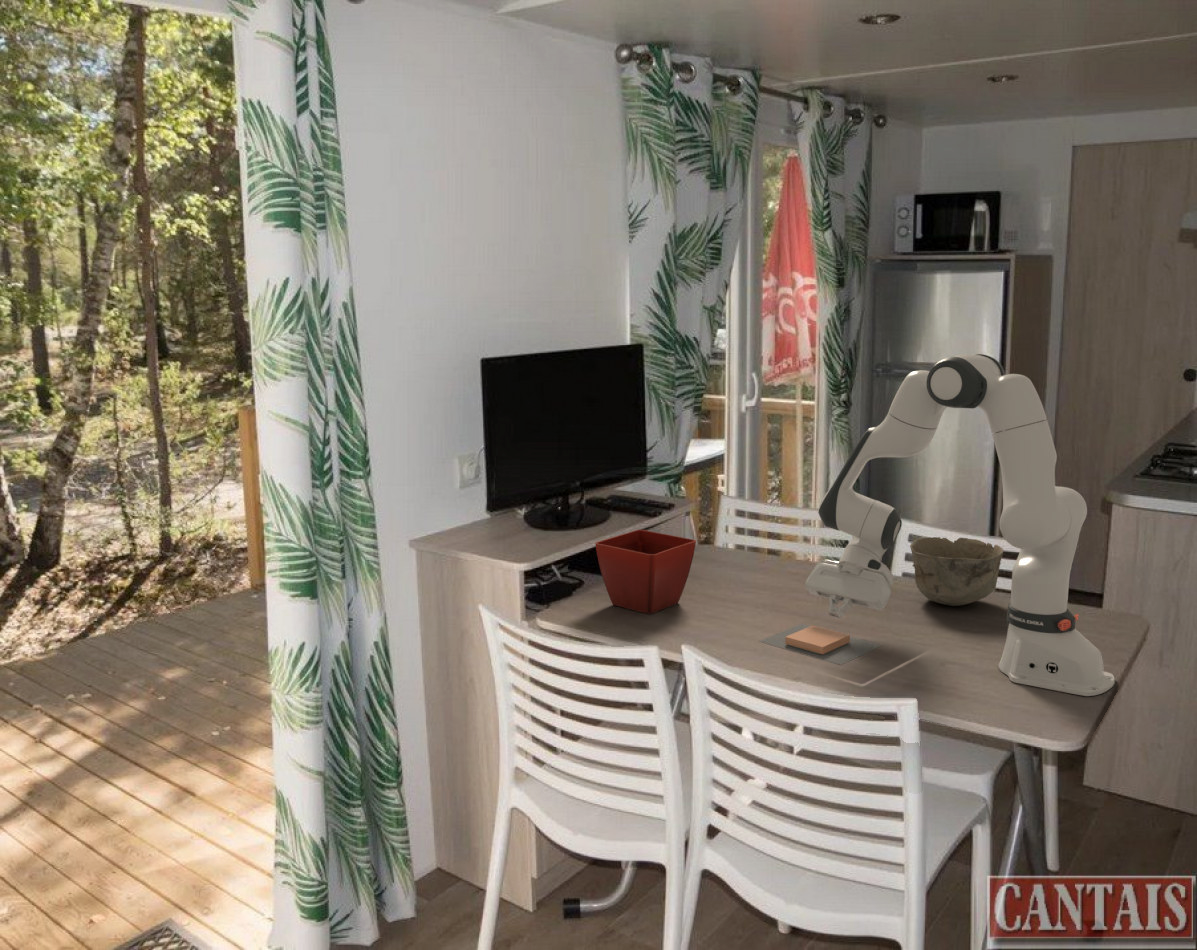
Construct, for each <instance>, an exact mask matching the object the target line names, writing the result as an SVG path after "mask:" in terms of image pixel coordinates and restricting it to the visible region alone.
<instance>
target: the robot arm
mask: <svg viewBox="0 0 1197 950" xmlns="http://www.w3.org/2000/svg"><path fill="white" fill-rule="evenodd" d="M977 407H978V408H979V409H981V410H982V411H983V412H984V413H985V415H986V418H987V419H988V420H987V421H988V424H989V427H990V432H991V435H992V439H993V442H994V446H995V451H996V454H997V457H998V458H997V459H998V461H999V465H1000V471H1001V472H1000V473H1001V478H1002V480H1001V481H1002V511H1001V514H1000V518H999V531H1000V533H1001V536H1002V537H1003V538H1004V540H1005V541H1006V542H1007V544H1009V545H1011V546H1012V547H1014V548H1016V549H1020V550H1019V554H1018V556H1017V557H1016V560H1015V563H1014V565H1013V567H1012V571H1011V587H1010V589H1011V590H1010V591H1011V592H1010V602H1009V603H1008V605H1007V614H1006V628H1007V633H1006V639H1005V645H1004V647H1003V652H1002V656H1000V657H1001V658H1000V661H999V663H998V669H999V670H1000V671H1001V672H1002V673H1003V674H1005V675H1006V676H1008V679H1009V681H1011V682H1013V683H1016V684H1020V685H1026V686H1030V687H1037V688H1042V689H1046V690H1051V691H1056V692H1061V693H1062V692H1063V693H1068V694H1073V695H1077V696H1084V697H1091V696H1092V697H1093V696H1097V695H1101V694H1103V693H1106V692H1107V691H1108V690H1110V689H1112V688H1113V686H1115V675H1113V673H1111V672H1108V671H1104V660H1103V656H1102V652H1101V650H1100V649H1098V648H1097V647H1096V646H1095V645H1094V644H1093V643H1091V641H1090V640H1089V639H1087V638H1086V637H1085V636H1084V635H1083V634H1082V633H1081V632H1080V631H1078V630H1077V629H1076V622H1077V621H1078V620H1079V615H1080V614H1079V613H1077V614H1074V615H1073V613H1071V611H1070V610H1069V608H1068V600H1069V599H1068V598H1069V587H1070V586H1069V585H1070V578H1071V577H1070V575H1071V570H1072V566H1073V565H1072V564H1073V561H1074V557H1075V554H1076V551H1077V547H1078V542H1079V538H1080V533H1081V531H1082V527H1083V524H1084V523H1085V520H1086V518H1087V515H1088V507H1087V503H1086V500H1085V499H1084V497H1083V496H1082V495H1081V494H1080V493H1079V492H1078V491H1077V490H1075V489H1073V488H1070V487H1066V486H1056V475H1055V474H1056V471H1055V470H1056V465H1057V459H1058V454H1057V451H1056V448H1055V447H1056V446H1055V444H1054V439H1053V436H1052V432H1051V429H1050V425H1049V421H1048V418H1047V415H1046V412H1045V409H1044V405H1043V403H1042V400H1041V399H1040V395H1039V394H1038V391H1037V389H1036V387H1035V386H1034V383H1033V382H1032V380H1031V379H1030V378H1029V377H1027V376H1026V375H1023V374H1018V373H1009V374H1006V372H1005V369H1004V367H1003V365H1002V364H1001V363H1000V362H999V361H998V360H997V359H996V358H994V357H992V356H990V355H987V354H982V353H980V354H979V353H978V354H971V353H970V354H969V353H965V354H964V353H963V354H957V355H955V356H950V357H945V358H943V359H941V360H939V361H938V362H936V363H935V364H934V365H933V366H932V367H931V369H930V370H924V369H921V370H920V369H919V370H914V371H911V372H910V373H908V374H907V375H906V376H905V378H904V380H903V381H902V383H901V384H900V386H899V388H898V390H897V392H896V393H895V396H894V398H893V399H892V402H891V405H890V406H889V410H888V412H887V415H885V418H884V419H883V420H882V422H881V423H880V424H878V425H877V426H874V427H869V428H868V429H867V430H866V431H865V432H864V433H863V434H862V436H861V437H860V438H859V440H858V442H857V443H856V445H855V446H854V448H853V450H852V451H851V453H850V455H849V456H848V458H847V460H846V462H845V464H844V465H843V467H842V469H841V470H840V471H839V473H838V475H837V477H836V479H835V481H834V483H833V484H832V485H831V487H830V488H829V489H828V491H826V493H825V494H824V495H823V497H822V499H821V501H820V503H819V507H818V513H817V514H818V515H819V518H820V520H821V522H822V524H823V525H824V526H825V527H827V528H830V529H833V530H836V531H838V532H839V531H840V532H843V533H846V534H847V535H851V540H850V541H849V543H848V544H847V545H846V546H845V548H844V550H843V553H842V555H841V557H840V558H839V561H836V560H830V559H824V560H820V561H819V562H817V563H816V565H815V567H814V568H813V570H811V571H812V572H811V573H810V574H809V575H808V577H807V579H806V581H805V582H804V583H805V584H804V586H805V588H806V590H807V591H808V592H809V593H810V594H811V595H812V596H818V597H822V598H825V599H828V600H829V607H828V610H827V614H828V615H829V616H830V617H834V618H839V619H841V618H842V617H843V615H844V613H846V612H847V611H848V610H850V609H851V608H852V606H853V605H857V606H861V607H865V608H867V609H868V608H869V609H873V610H877V611H881V610H883V609H884V608H886V605H887V604H888V602H889V599H890V596H891V593H892V585H893V584H894V581H895V578H894V576H893V574H892V572H891V570H890V569H889V567H888V566H887V565H886V564H885V563H884V562H882V559H883V555H884V554H885V552H887V550H888V549H889V548H891V547H893V546H894V543H895V541H896V539H897V537H898V535H899V533H900V531H901V529H902V524H903V521H902V519H901V516H900V514H899V512H898V510H897V509H896V508H895V507H893V506H891V505H889V504H887V503H884V502H881V500H877V499H873V498H871V497H868V496H866V495H863V494H861V493H858V492H856V491H855V490H854V489H853V487H854V484H855V483H856V481H857V479H858V478H859V476H860V474H861V472H862V471H863V470H864V468H865V466H866V464H867V463H868V462H869V461H870V460H873V459H877V458H909V457H912V456H915V455H918V454H921V453H922V452H924V451H925V450H926V449H927V448H928V447H929V446H930V444H931V442H932V441H933V438H934V436H935V434H936V431H937V429H938V427H939V424H940V422H941V418H942V417H943V414H944V412H945V410H946V409H947V408H951V409H952V408H953V409H972V410H973V409H977ZM839 602H843V603H842V604H841V605H840V606H839V607H838V606H837V607H836V605H838V604H839Z"/></svg>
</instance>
